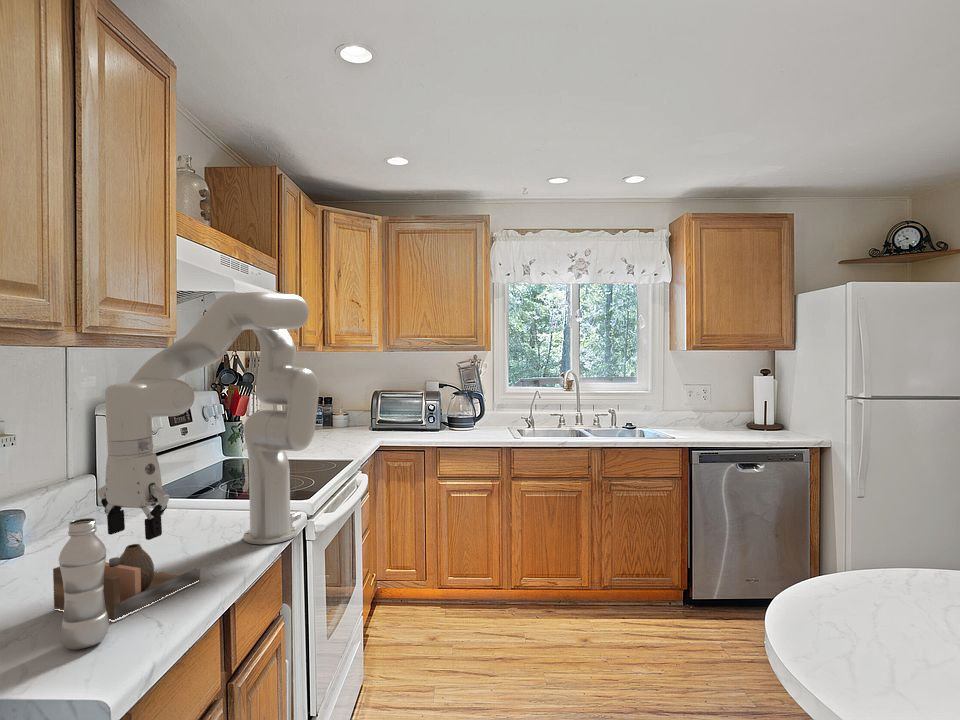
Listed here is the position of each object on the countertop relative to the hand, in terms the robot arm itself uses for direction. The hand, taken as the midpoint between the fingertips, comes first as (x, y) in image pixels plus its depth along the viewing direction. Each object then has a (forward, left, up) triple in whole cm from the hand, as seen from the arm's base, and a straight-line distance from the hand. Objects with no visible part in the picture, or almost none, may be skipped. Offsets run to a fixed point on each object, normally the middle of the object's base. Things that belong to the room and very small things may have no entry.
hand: (134, 534), depth 117 cm
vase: (0, 0, -11) cm, 11 cm away
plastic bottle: (+18, +10, -12) cm, 23 cm away
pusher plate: (+4, 0, -11) cm, 12 cm away
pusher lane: (+1, 0, -11) cm, 11 cm away
